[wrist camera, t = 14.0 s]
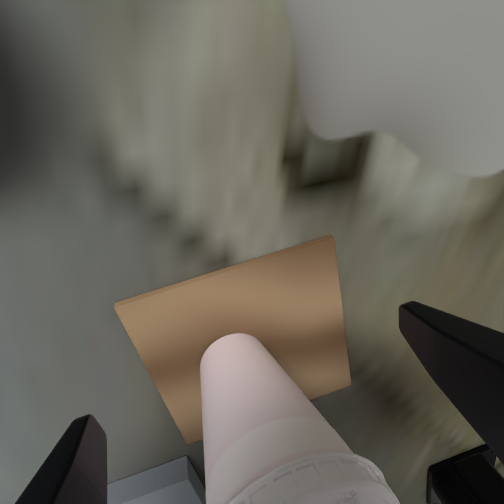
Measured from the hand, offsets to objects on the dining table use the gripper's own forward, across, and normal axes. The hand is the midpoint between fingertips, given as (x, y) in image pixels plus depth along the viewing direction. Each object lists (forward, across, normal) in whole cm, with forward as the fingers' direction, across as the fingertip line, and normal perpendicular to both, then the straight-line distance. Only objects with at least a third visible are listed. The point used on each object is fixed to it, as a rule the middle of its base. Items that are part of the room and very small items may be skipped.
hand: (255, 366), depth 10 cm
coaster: (+8, 0, +7) cm, 10 cm away
